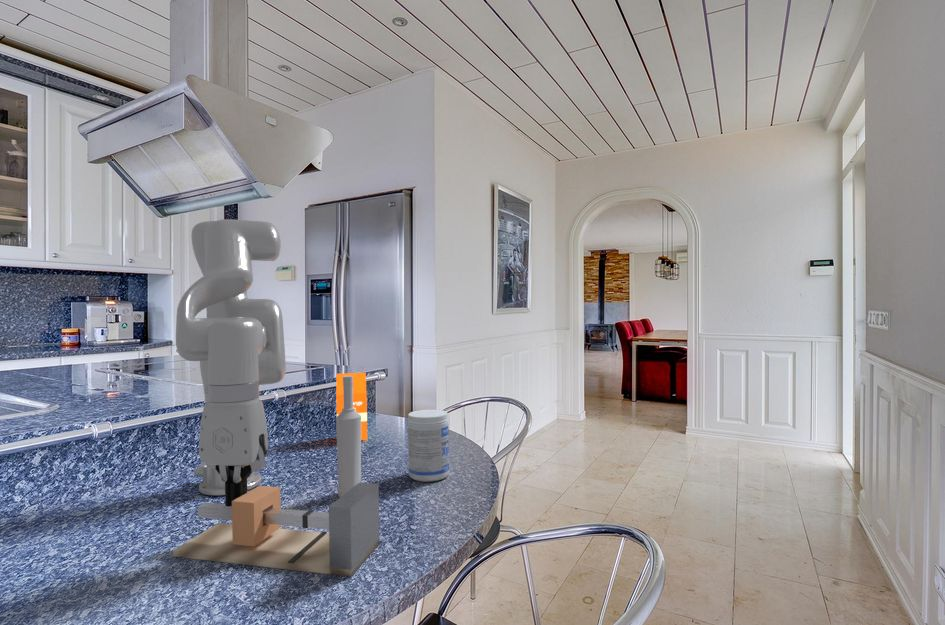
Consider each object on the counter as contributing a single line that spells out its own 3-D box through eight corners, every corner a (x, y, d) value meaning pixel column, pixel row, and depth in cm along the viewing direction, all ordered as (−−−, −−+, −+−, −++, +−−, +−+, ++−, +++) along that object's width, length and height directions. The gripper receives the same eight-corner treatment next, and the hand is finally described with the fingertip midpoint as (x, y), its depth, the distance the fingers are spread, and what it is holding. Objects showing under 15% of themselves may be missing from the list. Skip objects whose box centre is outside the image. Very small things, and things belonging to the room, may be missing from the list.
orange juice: (337, 436, 149) (336, 372, 149) (367, 434, 151) (365, 371, 151) (336, 443, 142) (335, 375, 141) (367, 441, 144) (366, 374, 143)
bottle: (356, 500, 99) (353, 378, 99) (332, 498, 100) (330, 378, 100) (366, 490, 104) (364, 374, 104) (344, 489, 105) (342, 374, 105)
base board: (173, 556, 77) (173, 548, 77) (219, 528, 87) (218, 521, 87) (351, 576, 70) (351, 568, 70) (379, 544, 80) (379, 536, 80)
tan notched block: (232, 543, 77) (231, 501, 77) (260, 525, 83) (259, 485, 83) (254, 546, 76) (253, 503, 76) (280, 527, 82) (280, 487, 82)
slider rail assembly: (178, 556, 77) (177, 494, 77) (223, 528, 87) (222, 473, 87) (351, 576, 70) (350, 508, 70) (379, 544, 80) (378, 483, 80)
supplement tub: (452, 481, 109) (451, 416, 109) (410, 485, 107) (409, 418, 107) (445, 467, 119) (444, 407, 118) (406, 471, 116) (405, 410, 116)
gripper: (178, 396, 78) (180, 509, 78) (258, 398, 75) (261, 516, 75) (213, 388, 85) (215, 492, 86) (287, 390, 82) (289, 498, 82)
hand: (236, 503), depth 80 cm, fingers closed
